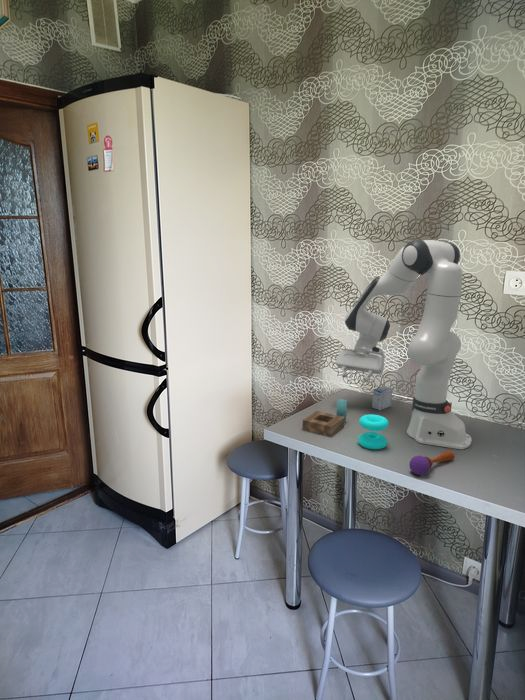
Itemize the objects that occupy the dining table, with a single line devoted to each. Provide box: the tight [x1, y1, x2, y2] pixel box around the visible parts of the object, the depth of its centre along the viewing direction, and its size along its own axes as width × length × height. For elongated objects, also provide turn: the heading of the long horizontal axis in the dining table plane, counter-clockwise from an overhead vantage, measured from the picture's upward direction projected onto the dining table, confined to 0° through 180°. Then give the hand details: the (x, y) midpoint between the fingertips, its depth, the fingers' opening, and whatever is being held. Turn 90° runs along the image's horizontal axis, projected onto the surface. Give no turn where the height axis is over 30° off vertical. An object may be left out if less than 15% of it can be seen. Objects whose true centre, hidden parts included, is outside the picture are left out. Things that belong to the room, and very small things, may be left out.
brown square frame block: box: [301, 410, 345, 438], centre depth 178 cm, size 12×12×4 cm
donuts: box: [357, 413, 389, 450], centre depth 163 cm, size 10×10×10 cm
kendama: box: [408, 449, 455, 476], centre depth 147 cm, size 6×6×20 cm
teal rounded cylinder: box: [335, 398, 348, 424], centre depth 184 cm, size 4×4×9 cm
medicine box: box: [371, 385, 393, 411], centre depth 201 cm, size 8×4×9 cm, turn 130°
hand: (354, 378), depth 191 cm, fingers open, 8 cm apart
